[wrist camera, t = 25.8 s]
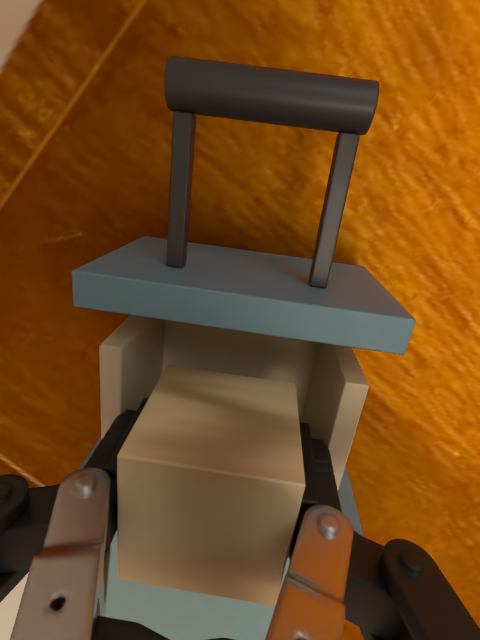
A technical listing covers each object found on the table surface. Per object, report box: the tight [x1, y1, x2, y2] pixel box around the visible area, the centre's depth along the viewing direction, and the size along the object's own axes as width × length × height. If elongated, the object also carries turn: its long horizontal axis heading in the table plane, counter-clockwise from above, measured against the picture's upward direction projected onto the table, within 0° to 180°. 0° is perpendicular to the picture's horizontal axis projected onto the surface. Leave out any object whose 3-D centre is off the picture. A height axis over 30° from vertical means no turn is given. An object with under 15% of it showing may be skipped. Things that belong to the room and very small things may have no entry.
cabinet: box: [78, 436, 363, 640], centre depth 20 cm, size 14×12×9 cm
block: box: [117, 365, 306, 606], centre depth 12 cm, size 5×5×5 cm
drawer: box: [72, 56, 415, 490], centre depth 15 cm, size 19×10×7 cm, turn 173°
